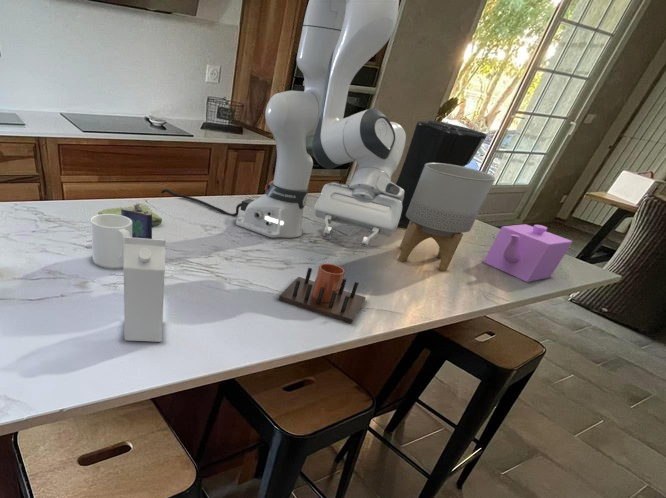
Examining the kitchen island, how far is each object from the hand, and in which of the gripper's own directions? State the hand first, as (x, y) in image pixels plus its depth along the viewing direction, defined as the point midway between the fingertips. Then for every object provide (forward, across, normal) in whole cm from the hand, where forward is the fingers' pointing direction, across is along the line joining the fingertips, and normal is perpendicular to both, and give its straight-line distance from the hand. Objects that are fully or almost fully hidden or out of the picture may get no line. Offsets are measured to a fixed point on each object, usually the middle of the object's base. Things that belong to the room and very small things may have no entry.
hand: (344, 240), depth 104 cm
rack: (+15, 0, +4) cm, 15 cm away
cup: (+14, 0, +3) cm, 14 cm away
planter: (-22, +18, +41) cm, 50 cm away
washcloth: (+7, -67, +13) cm, 68 cm away
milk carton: (+42, -26, -24) cm, 55 cm away
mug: (+26, -51, -7) cm, 58 cm away
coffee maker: (-51, +7, +70) cm, 87 cm away
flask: (+16, -55, +4) cm, 57 cm away
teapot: (-32, +46, +50) cm, 75 cm away
